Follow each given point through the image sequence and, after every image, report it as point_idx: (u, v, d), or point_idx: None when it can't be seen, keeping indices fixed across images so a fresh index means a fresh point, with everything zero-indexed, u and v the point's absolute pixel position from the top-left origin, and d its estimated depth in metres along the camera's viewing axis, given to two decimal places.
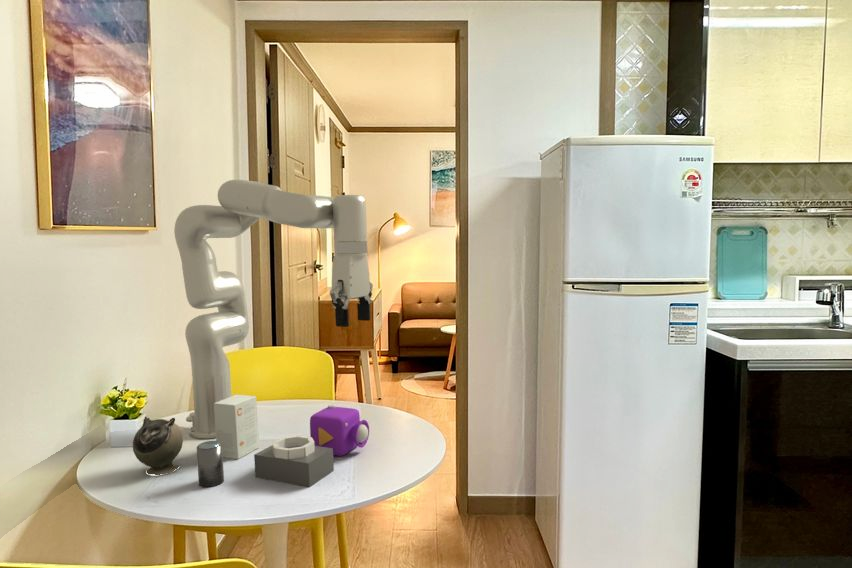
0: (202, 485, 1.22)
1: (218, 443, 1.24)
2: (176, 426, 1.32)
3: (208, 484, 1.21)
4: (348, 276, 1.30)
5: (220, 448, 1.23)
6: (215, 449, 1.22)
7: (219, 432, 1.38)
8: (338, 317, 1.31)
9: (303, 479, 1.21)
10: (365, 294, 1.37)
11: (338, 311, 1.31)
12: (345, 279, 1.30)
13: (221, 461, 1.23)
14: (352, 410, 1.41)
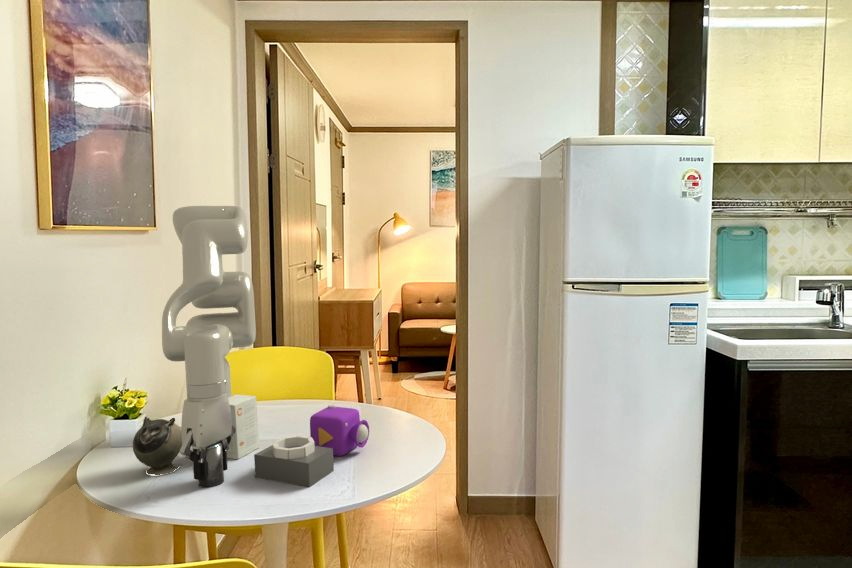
0: (202, 485, 1.22)
1: (218, 443, 1.24)
2: (176, 426, 1.32)
3: (208, 484, 1.21)
4: (197, 425, 1.18)
5: (220, 448, 1.23)
6: (215, 449, 1.22)
7: None
8: (195, 471, 1.20)
9: (303, 479, 1.21)
10: (224, 436, 1.25)
11: (195, 464, 1.20)
12: (194, 428, 1.18)
13: (221, 461, 1.23)
14: (352, 410, 1.41)
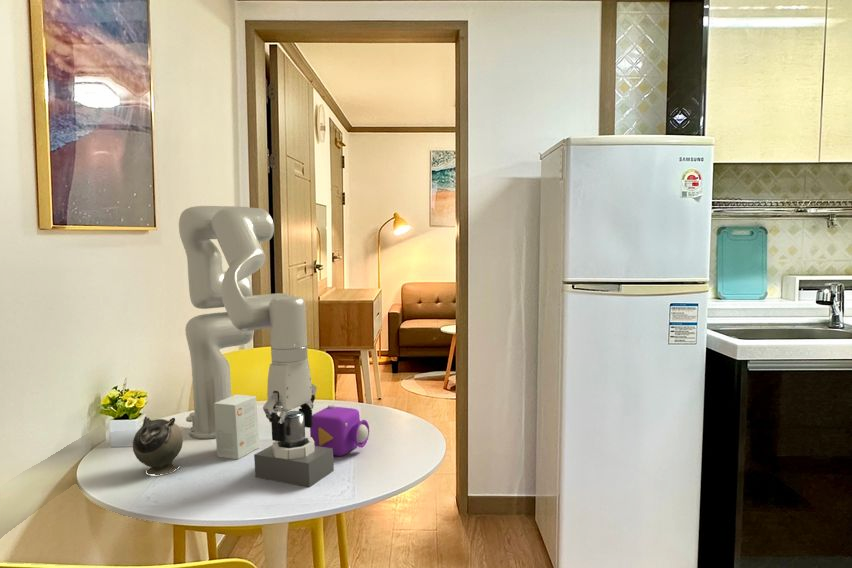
0: None
1: (300, 413, 1.27)
2: (176, 426, 1.32)
3: None
4: (284, 387, 1.21)
5: (303, 418, 1.26)
6: (299, 418, 1.25)
7: (219, 432, 1.38)
8: (274, 431, 1.21)
9: (303, 479, 1.21)
10: (306, 401, 1.27)
11: (274, 425, 1.21)
12: (281, 390, 1.21)
13: (304, 430, 1.26)
14: (352, 410, 1.41)
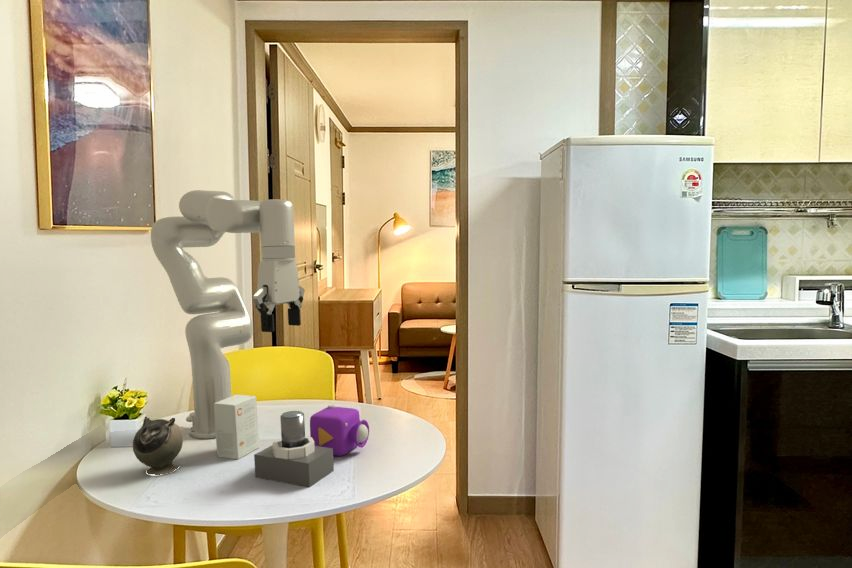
0: None
1: (300, 413, 1.27)
2: (176, 426, 1.32)
3: None
4: (273, 281, 1.30)
5: (303, 418, 1.26)
6: (299, 418, 1.25)
7: (219, 432, 1.38)
8: (263, 322, 1.30)
9: (303, 479, 1.21)
10: (294, 299, 1.36)
11: (263, 316, 1.30)
12: (270, 284, 1.30)
13: (304, 430, 1.26)
14: (352, 410, 1.41)
